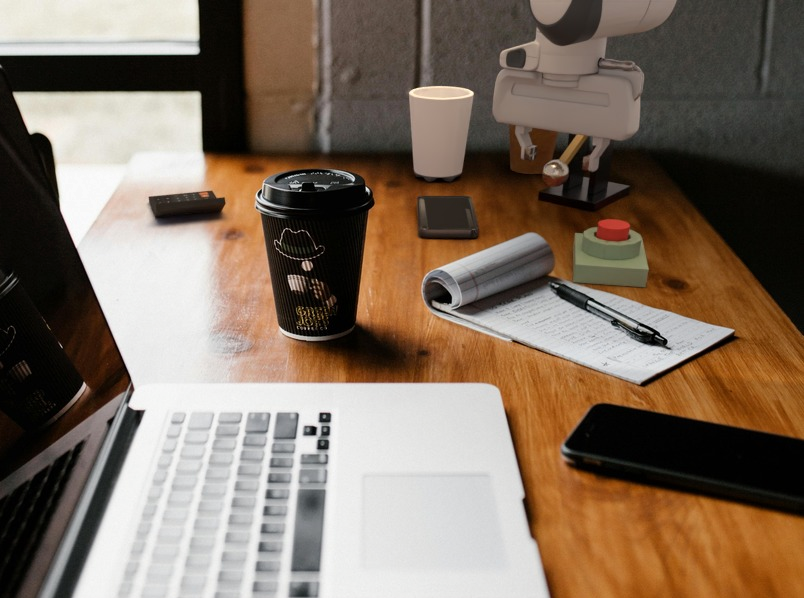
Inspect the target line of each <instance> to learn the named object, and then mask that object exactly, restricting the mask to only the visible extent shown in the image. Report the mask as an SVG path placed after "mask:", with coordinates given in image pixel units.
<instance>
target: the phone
mask: <svg viewBox="0 0 804 598" xmlns="http://www.w3.org/2000/svg"><path fill="white" fill-rule="evenodd" d="M416 211H417V231H418V233H417V234H418V237H420V238H426V239H429V238H430V239H475V238H477V237H479V229H480V227H479V226H480V225H479V222H478V219H477V218H478V217H477V214H476V209H475V205H474V201H473V198H472V196H468V195H419V196H417V198H416Z"/></svg>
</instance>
